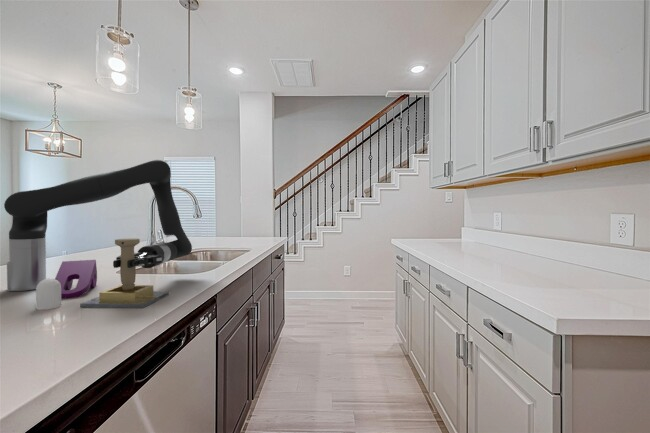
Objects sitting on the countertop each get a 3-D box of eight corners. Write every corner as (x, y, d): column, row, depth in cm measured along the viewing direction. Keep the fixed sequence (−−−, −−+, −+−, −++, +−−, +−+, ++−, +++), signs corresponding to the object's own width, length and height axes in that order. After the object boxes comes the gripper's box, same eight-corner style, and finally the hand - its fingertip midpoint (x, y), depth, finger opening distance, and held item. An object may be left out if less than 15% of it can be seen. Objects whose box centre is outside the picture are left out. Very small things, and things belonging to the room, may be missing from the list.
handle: (134, 290, 94) (133, 240, 94) (112, 291, 94) (111, 240, 93) (143, 286, 99) (142, 238, 98) (122, 286, 99) (121, 238, 98)
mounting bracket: (89, 312, 103) (97, 278, 117) (86, 291, 100) (95, 259, 114) (51, 317, 99) (65, 281, 113) (47, 295, 95) (62, 261, 110)
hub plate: (80, 307, 89) (79, 294, 89) (114, 293, 103) (114, 283, 103) (143, 307, 89) (143, 295, 89) (169, 294, 103) (168, 283, 103)
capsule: (49, 309, 87) (49, 280, 87) (30, 309, 87) (30, 280, 87) (66, 304, 92) (65, 276, 92) (48, 303, 93) (48, 276, 92)
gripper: (134, 244, 110) (97, 251, 93) (174, 244, 110) (145, 251, 93) (134, 265, 111) (98, 277, 94) (174, 266, 110) (145, 277, 93)
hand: (121, 264), depth 93 cm, fingers closed on handle, 3 cm apart
